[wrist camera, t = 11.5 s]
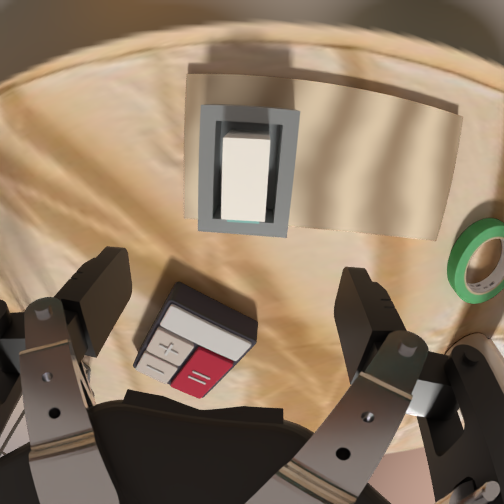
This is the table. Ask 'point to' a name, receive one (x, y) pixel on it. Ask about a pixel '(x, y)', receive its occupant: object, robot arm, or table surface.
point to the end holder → (279, 174)
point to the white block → (245, 175)
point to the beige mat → (344, 153)
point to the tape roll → (462, 256)
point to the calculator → (194, 342)
